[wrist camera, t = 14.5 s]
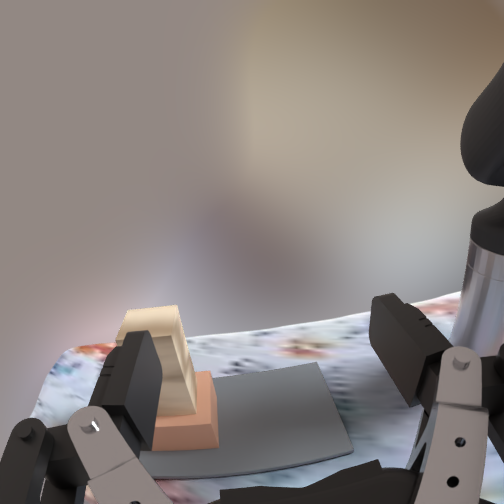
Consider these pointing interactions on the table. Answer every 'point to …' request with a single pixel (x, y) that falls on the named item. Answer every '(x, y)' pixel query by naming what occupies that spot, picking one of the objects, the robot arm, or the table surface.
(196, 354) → the table surface
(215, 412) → the base block
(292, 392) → the build mat
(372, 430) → the table surface
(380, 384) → the table surface
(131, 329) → the pillar
